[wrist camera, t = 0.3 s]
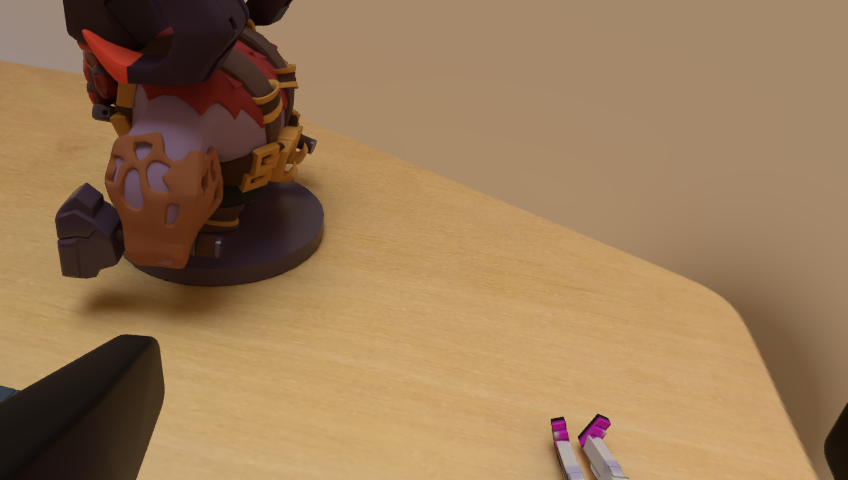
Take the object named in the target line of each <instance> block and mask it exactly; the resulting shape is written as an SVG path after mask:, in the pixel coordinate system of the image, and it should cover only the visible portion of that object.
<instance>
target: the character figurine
mask: <svg viewBox="0 0 848 480" xmlns="http://www.w3.org/2000/svg"><path fill="white" fill-rule="evenodd" d="M551 425H552V433H553V440H554V446H555V448H556V451H557V456H558V459H559V462H560V465H561V468H562V474H563V477H564V480H585V479H584V476H583V474H582V472H581V470H580V467H579V464H578V462H577V459H576V456H575V454H574V451H573V448H572V446H571V443H570V440H569V438H568V432H567V428H566V422H565V419H564V417H559V418H554V419H551ZM610 425H611V423H610V421H609V419H608V418H607V417H604V416H602V415H600V414H597V415H596V416H595V417H594V419H593V420H592V421H591V422H590V423H589V424H588V426H587V427H586V428H585V429H584V430H583V431H582V433H581V434H580V435H579V436H578V439H579V442H580V445H581V447H584V448H583V451H584V453H585V454H586V456H587V457H588V459H589V461H590V462H591V466H590V468H591V470H592V472H593V473H594V475H595V477H596V478H597V480H630V479H629V478H627V477H625V476H624V474H623V472H622V470H621V467H620V465H619V464H618V462H617V461H616V459H615V458H614V456H613V455H612V453H611V452H610V451H609V449H608V448H607V446H606V445H605V443H604V442H603V440H602V439H603V438H604V436H605V435H606V434H607V432H606V430H607V428H608V427H609V426H610Z"/></svg>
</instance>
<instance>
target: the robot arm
mask: <svg viewBox="0 0 848 480" xmlns="http://www.w3.org/2000/svg"><path fill="white" fill-rule="evenodd" d="M164 393H165V387H164V378H163V370H162V362H161V354H160V347H159V344H158V341H157V340H156V339H155V338H153V337H151V336H140V335H128V334H126V335H120V336H117V337H115V338H113V339H112V340H110V341H108V342H106V343H105V344H103V345H101V346H99V347H98V348H96V349H94V350H92V351H90V352H89V353H87V354H85V355H83V356H82V357H80V358H78V359H76V360H75V361H73V362H71V363H69V364H67V365H66V366H64V367H62V368H60V369H59V370H57V371H55V372H53V373H51V374H50V375H48V376H46V377H44V378H43V379H41V380H39V381H37V382H36V383H34V384H32V385H30V386H28V387H27V388H25V389H23V390H21V391H20V392H18V393H16V394H14V395H13V396H11V397H9V398H7V399H5V400H4V401H2V402H0V480H136V478H137V476H138V473H139V470H140V467H141V464H142V462H143V459H144V456H145V453H146V450H147V447H148V445H149V442H150V439H151V436H152V433H153V431H154V428H155V425H156V422H157V419H158V417H159V414H160V411H161V408H162V405H163V400H164ZM824 454H825V458H826V461H827V463H828V466H829V468H830V470H831V473H832V475H833V477H834V480H848V403H847V404H846V406H845V407H844V409H843V411H842V412H841V414H840V416H839V417H838V419H837V421H836V422H835V424H834V426H833V427H832V429H831V431H830V433H829V434H828V436H827V438H826V440H825V443H824Z"/></svg>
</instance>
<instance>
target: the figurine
mask: <svg viewBox="0 0 848 480" xmlns="http://www.w3.org/2000/svg"><path fill="white" fill-rule="evenodd" d="M291 2H292V0H248V1H247V2H246V3H245V2H244V0H63V5H64V12H65V19H66V26H67V31H68V34H69V35H70V36H72V37H73V38H74V39H75V40H77V43H78V45H79V46H80V48H81V49H82V50H83V58H84V59H83V71H84V75H85V78H86V80H87V82H88V83H87V92H88V94H89V98H90V100H91V102H92V103H93V104H94V105H93V110H92V117H93V118H94V119H95V120H100V121H106V122H111V123H112V124H113V126H114V128H115V130H116V132H117V134H118V136H119V138H117V139H116V141H115V142H114V145H113V148H112V152H111V157H110V161H109V164H108V167H107V170H106V175H105V185H106V189H107V192H108V195H109V197H110V199H111V201H112V203H113V205H114V207H115V208H114V207H113V206H112V205H111V204H109V203H108V202H106V201H104V198H103V195H102V194H101V193H100V192H99V191H97V190H96V189H95V188H94V187H92V186H91V185H90V184H88V183H85V184H83V185H82V186H80V187H79V188H78V189H76V190H75V191H74V192H73V193H72V194H71V196H70V197H69V198H68V199H67V200H66V201H65V203H64V204H63V205H62V206H61V208H60V209H59V211H58V212H57V214H56V218H55V223H56V230H57V236H58V238H59V240H58V250H59V257H60V264H61V270H62V275H63V276H65V277H72V278H86V279H87V278H93V277H96V276H97V275H98V273H99V271H100V270H101V269H104V268H108V267H112V266H114V265H116V264H117V263H118V262H119V260H120V258H121V257H122V255H124V257H125V258H126V259H127V260H129V261H130V262H131V263H132V264H133V265H134V266H135V267H137V268H139V269H141V270H142V271H144V272H146V273H148V274H150V275H153V276H156V277H159V278H161V279H164V280H167V281H172V282H178V283H183V284H188V285H203V286H222V285H237V284H243V283H249V282H255V281H259V280H262V279H266V278H269V277H273V276H276V275H278V274H281V273H283V272H285V271H288V270H290V269H292V268H294V267H295V266H297V265H298V264H300V263H302V262H303V261H305V260H306V259H307V258H308V257H309V256H310V255H311V254H312V253H313V252H314V251H315V250H316V249H317V247H318V245H319V244H320V242H321V240H322V235H323V225H324V213H323V209H322V205H321V204H320V202H319V200H318V199H317V197H316V196H315V195H314V194H312V193H311V192H310V191H309V190H308V189H306V188H305V187H303V186H302V185H300V184H298V183H296V182H294V181H292V180H293V179H294V177H295V175H296V173H297V171H298V170H297V166H296V165H297V164H300V163H301V162H302V161H303V159H304V158H305V156H306V154H307V153H309V154H312V152H313V151H314V149H315V146H316V143H317V140H315V139H311V138H309V137H307V136H305V135H302V134H301V132H302V129H303V126H300V125H299V123H298V121H299V117H300V114H299V113H298V112H297V111H295V110H294V109H293V105H294V89H297V88H298V84H297V82H296V78H295V70H296V65H295V64H288V62H287V61H285V60H283V58H282V57H281V55H280V54H279V53H278V51H277V46H276V45H274V44H272V43H270V42H269V41H268V40H267V39H266V38H265V37H264V36H263V35H261V34H259V33H258V32H256V29H255V26H266V25H270V24H272V23H275V22H277V21H279V20H280V19H281V18H282V17H283V15H284V14H285V12H286V10H287V9H288V7H289V4H290V3H291ZM116 103H117V104H116ZM111 104H113V105H115V107H114V106H110V105H111ZM296 148H298V149H300V151H299V152H297V151H296ZM286 163H287V164H293V167H292V168H291V169H290V170H289V171H284V170H285V165H286Z"/></svg>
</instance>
